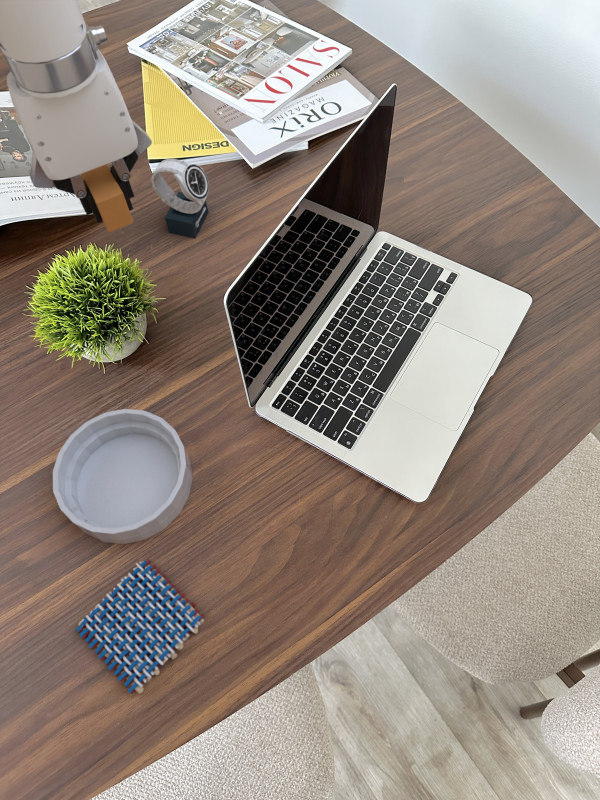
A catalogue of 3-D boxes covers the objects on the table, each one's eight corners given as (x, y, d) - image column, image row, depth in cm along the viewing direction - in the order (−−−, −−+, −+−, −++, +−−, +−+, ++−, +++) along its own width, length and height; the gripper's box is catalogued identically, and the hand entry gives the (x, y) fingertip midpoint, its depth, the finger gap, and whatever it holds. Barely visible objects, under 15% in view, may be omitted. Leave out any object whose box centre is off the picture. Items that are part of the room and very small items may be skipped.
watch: (207, 241, 94) (194, 184, 85) (158, 230, 96) (140, 173, 86) (220, 214, 97) (209, 156, 87) (172, 204, 98) (156, 146, 88)
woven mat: (211, 620, 69) (208, 617, 67) (137, 699, 65) (132, 698, 64) (148, 556, 72) (144, 552, 71) (75, 628, 69) (69, 625, 67)
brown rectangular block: (109, 233, 71) (96, 203, 67) (86, 190, 74) (73, 160, 70) (133, 223, 72) (123, 193, 68) (110, 181, 75) (98, 150, 71)
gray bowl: (94, 569, 72) (79, 558, 67) (51, 462, 78) (35, 446, 74) (213, 505, 75) (207, 491, 71) (162, 407, 81) (154, 388, 77)
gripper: (122, 7, 59) (164, 163, 76) (-50, 63, 56) (33, 214, 72) (152, 50, 56) (189, 203, 72) (-28, 112, 53) (53, 258, 69)
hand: (110, 207), depth 72 cm, fingers closed on brown rectangular block, 3 cm apart
